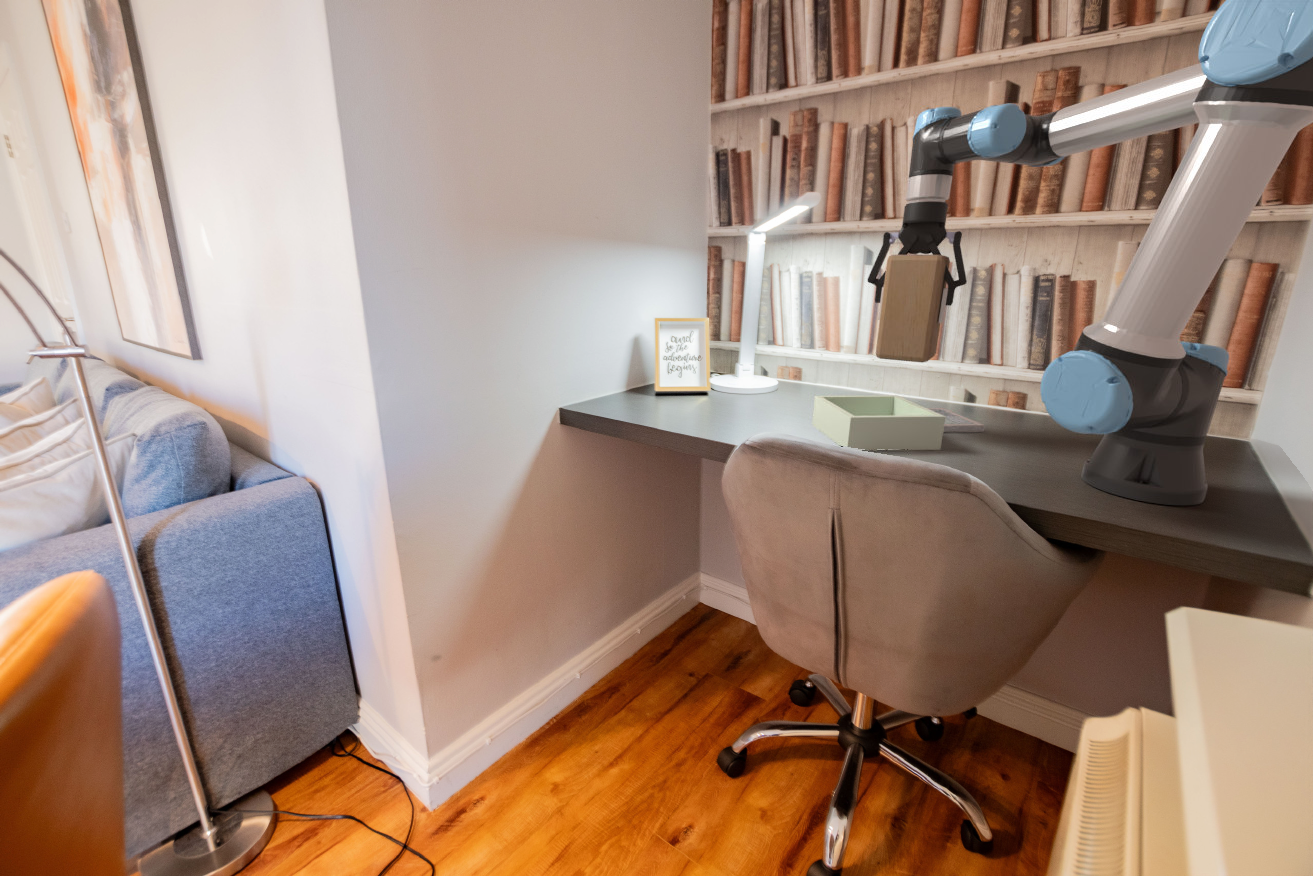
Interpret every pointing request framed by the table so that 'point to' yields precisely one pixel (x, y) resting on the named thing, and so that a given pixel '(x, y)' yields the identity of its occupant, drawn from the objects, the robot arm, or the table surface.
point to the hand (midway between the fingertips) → (910, 321)
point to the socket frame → (963, 422)
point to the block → (911, 307)
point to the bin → (878, 422)
